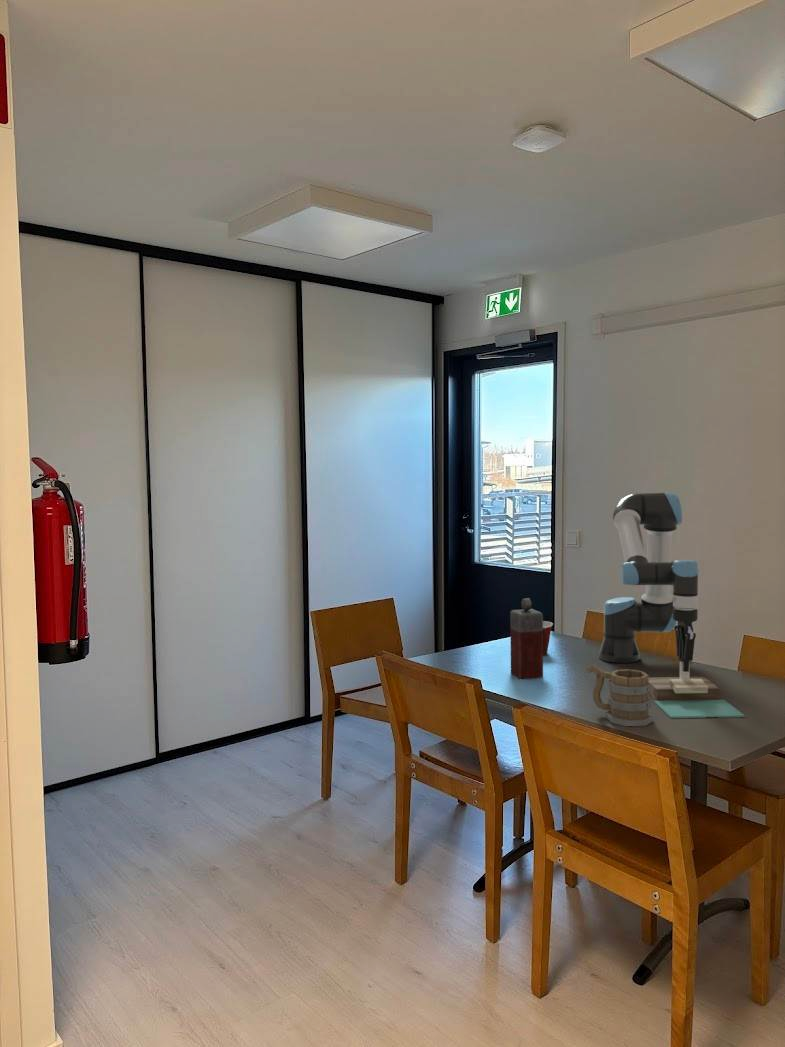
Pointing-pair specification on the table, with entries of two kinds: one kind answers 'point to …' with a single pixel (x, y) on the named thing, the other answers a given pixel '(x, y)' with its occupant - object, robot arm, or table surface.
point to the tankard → (624, 696)
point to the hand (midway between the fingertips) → (684, 680)
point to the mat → (698, 708)
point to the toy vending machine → (527, 642)
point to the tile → (688, 686)
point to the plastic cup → (547, 630)
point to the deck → (665, 692)
